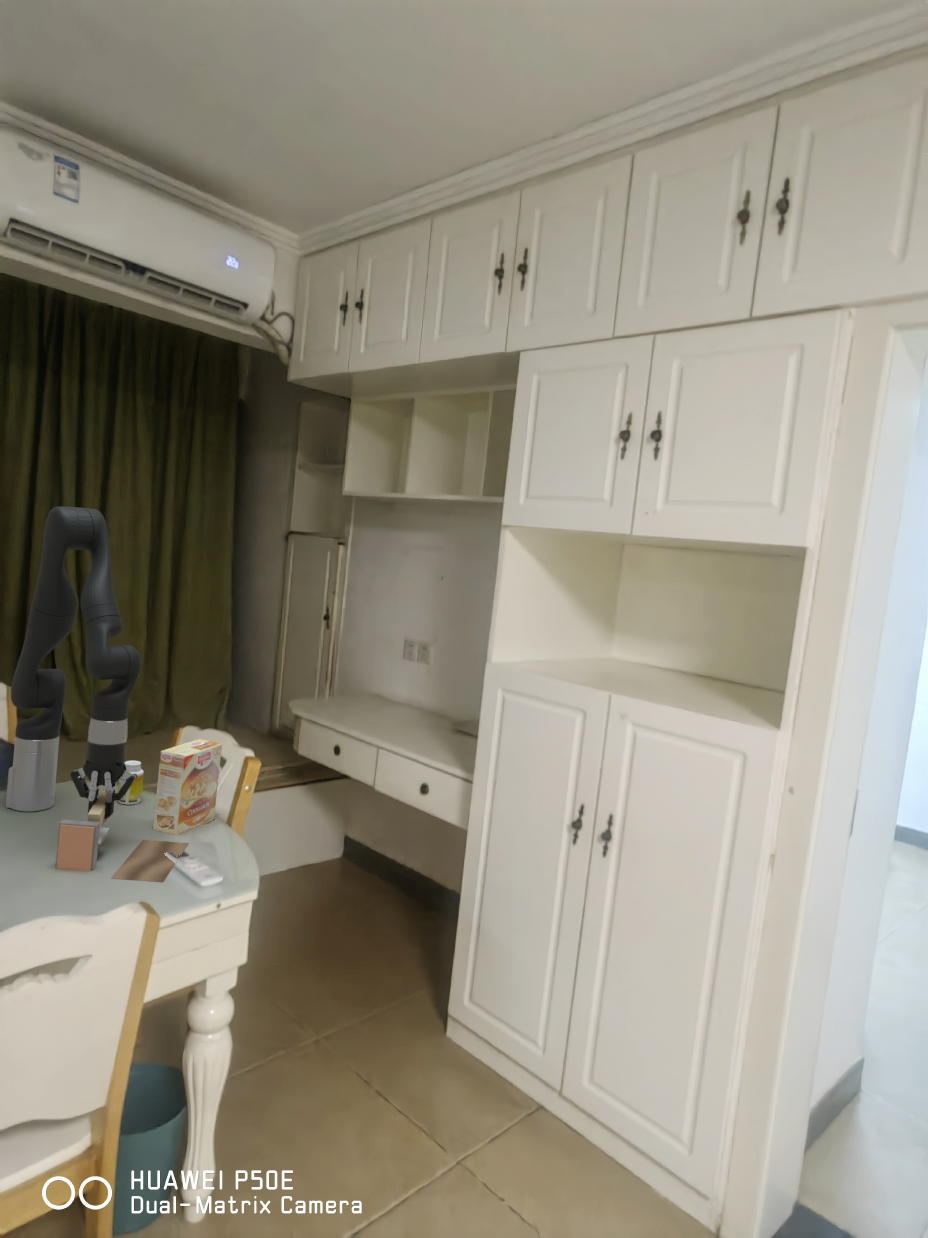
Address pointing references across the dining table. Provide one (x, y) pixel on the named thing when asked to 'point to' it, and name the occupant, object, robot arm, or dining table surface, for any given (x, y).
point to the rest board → (150, 861)
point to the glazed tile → (77, 845)
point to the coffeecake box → (187, 786)
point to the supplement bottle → (136, 788)
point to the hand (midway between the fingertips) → (100, 817)
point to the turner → (99, 816)
